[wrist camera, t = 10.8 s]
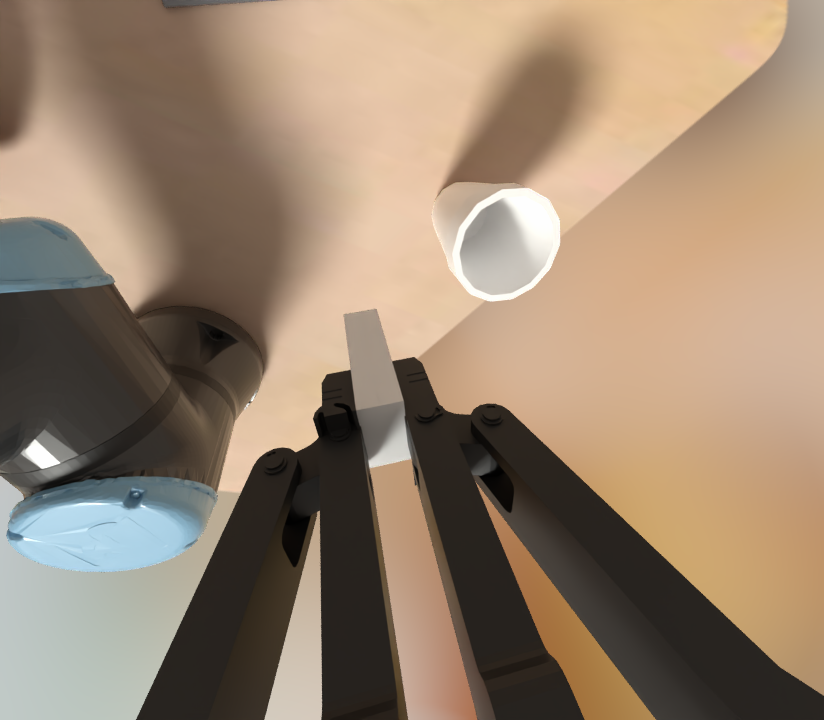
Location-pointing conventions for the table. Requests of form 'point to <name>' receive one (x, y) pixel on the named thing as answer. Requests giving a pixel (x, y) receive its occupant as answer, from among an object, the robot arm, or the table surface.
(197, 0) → the felt mat
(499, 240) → the foam cup
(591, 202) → the table surface
